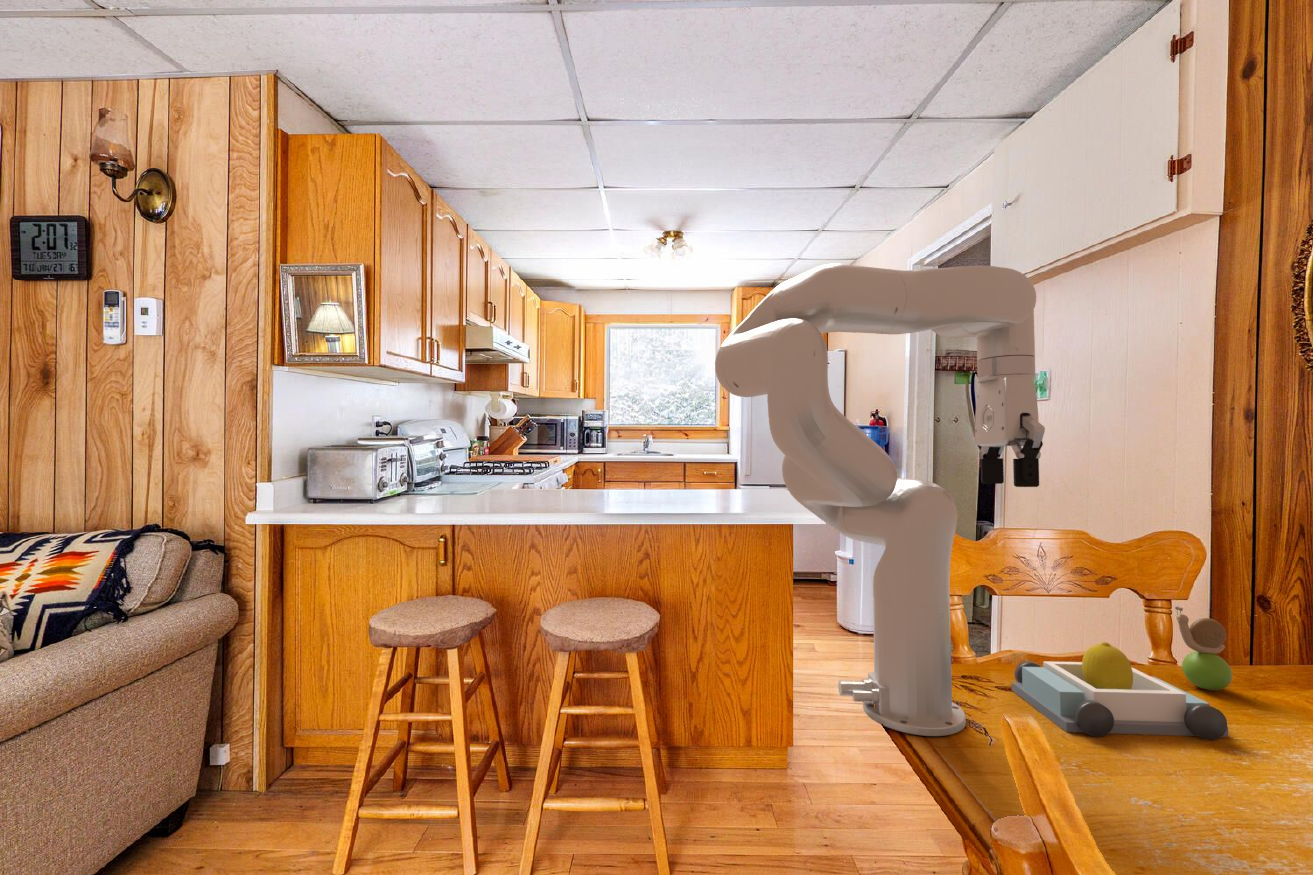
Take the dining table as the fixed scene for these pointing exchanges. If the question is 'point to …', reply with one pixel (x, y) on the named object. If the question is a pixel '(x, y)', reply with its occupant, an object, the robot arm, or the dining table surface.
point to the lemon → (1107, 668)
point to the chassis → (1115, 704)
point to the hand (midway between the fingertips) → (1008, 485)
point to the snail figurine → (1204, 653)
